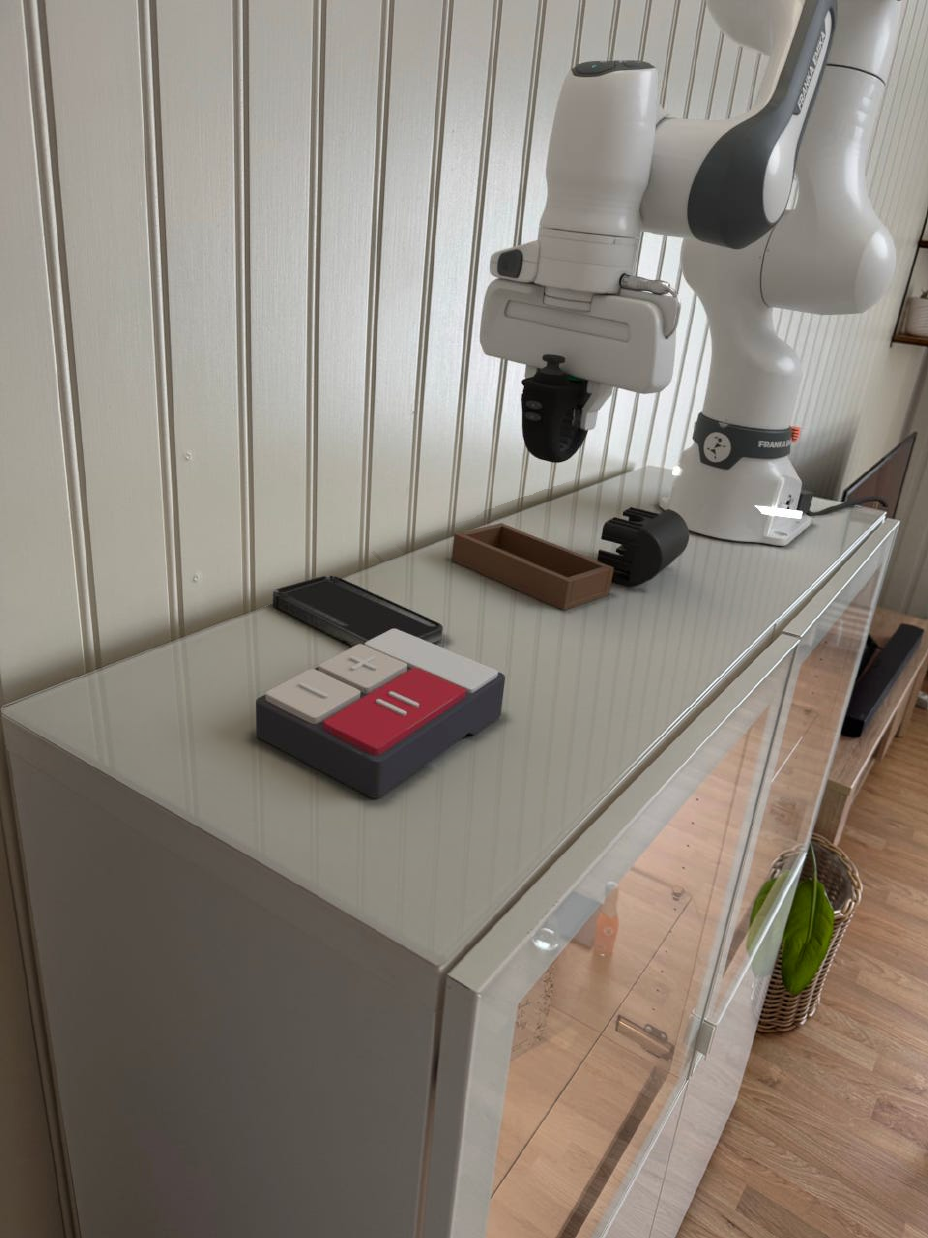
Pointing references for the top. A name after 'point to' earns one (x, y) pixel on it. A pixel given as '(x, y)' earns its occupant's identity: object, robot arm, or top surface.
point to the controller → (552, 412)
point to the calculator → (380, 710)
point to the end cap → (643, 544)
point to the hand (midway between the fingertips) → (561, 421)
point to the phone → (351, 611)
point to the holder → (532, 565)
